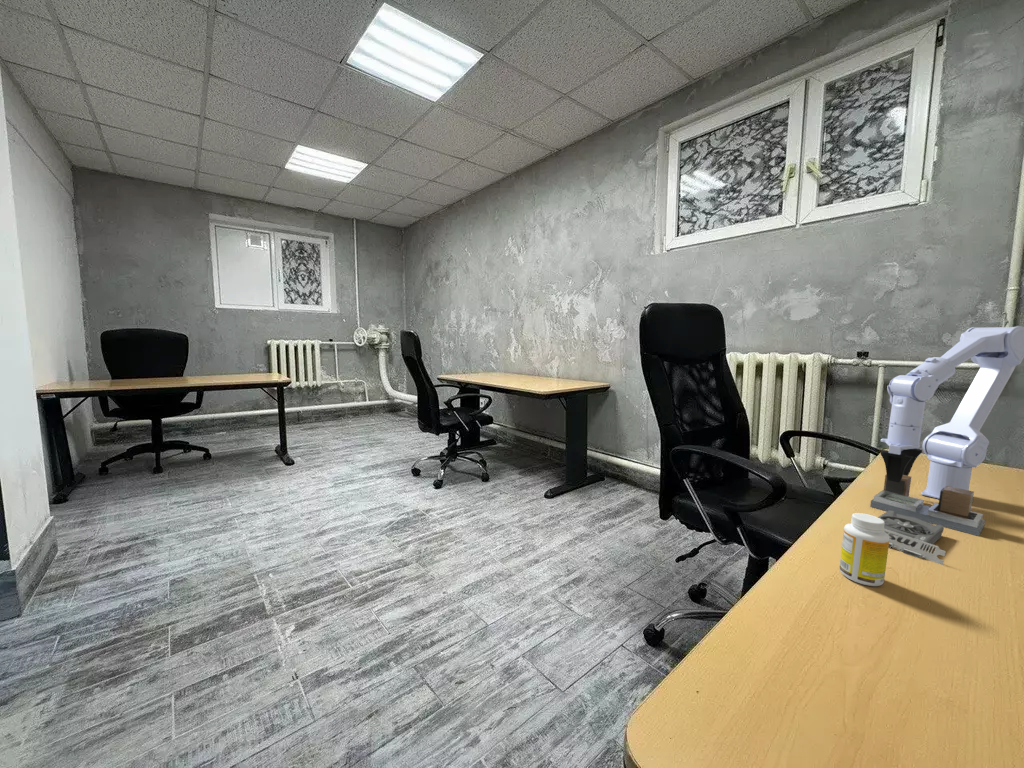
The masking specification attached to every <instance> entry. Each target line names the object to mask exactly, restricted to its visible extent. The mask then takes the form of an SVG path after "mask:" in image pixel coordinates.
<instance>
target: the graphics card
mask: <svg viewBox="0 0 1024 768" xmlns="http://www.w3.org/2000/svg"><path fill="white" fill-rule="evenodd" d="M877 517H878V518H880V519H882V520H883V521H884V522H885V524H884V532H886V533H887V534H888V536H889V547H888V549H894V548H895V549H894V550H897V551H901V552H903V554H906V555H909V556H911V557H915V558H917V559H924V560H927V561H930V562H933V563H935V564H939V565H941V566H942V565H943V566H944V562H945V560H944V559H941V558H939V557H938V556H939V555H940V556H942V557H945V556H946V552H947V551H946V550H943V549H941V548H940V547H939V546H938V545H935V543H937V541H939V540H940V538H941V537H942V534H943V532H944V528H945V527H943V526H942V525H936V524H932V523H928V522H925V521H922V520H920V519H917V518H913V517H909V516H904V515H900V514H896V513H895V512H894V511H890V510H889V511H885V512H884V513H882V514H881V515H879V516H877ZM891 547H892V548H891ZM927 549H928V550H927ZM933 550H934V551H933Z"/></svg>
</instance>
